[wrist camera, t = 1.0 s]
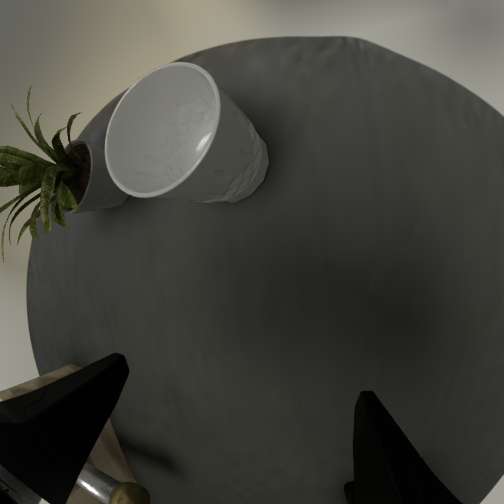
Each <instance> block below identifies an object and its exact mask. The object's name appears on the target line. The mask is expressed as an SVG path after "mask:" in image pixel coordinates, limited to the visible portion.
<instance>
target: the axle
mask: <svg viewBox="0 0 504 504" xmlns="http://www.w3.org/2000/svg"><path fill="white" fill-rule="evenodd" d="M76 484H77V485H79V486H80V487H81V488H83V489H84V490H85V491H87V492H88V493H90V494H91V495H93V496H94V497H96V498H97V499H99V500H100V501H102V502H103V503H105V504H150V494H149V492H148V491H147V489H145V488H144V487H142V486H140V485H138V484H136V483H133V482H129V481H128V482H123V483H121V482H120V481H118V480H116V479H114V478H112V477H111V476H109V475H107V474H106V473H104V472H102V471H100V470H99V469H97V468H96V467H94V466H92V465H91V464H89V463H88V462H86V463H85V465H84V467H83V469H82V471H81V473H80V475H79V476H78V479H77V481H76Z"/></svg>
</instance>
